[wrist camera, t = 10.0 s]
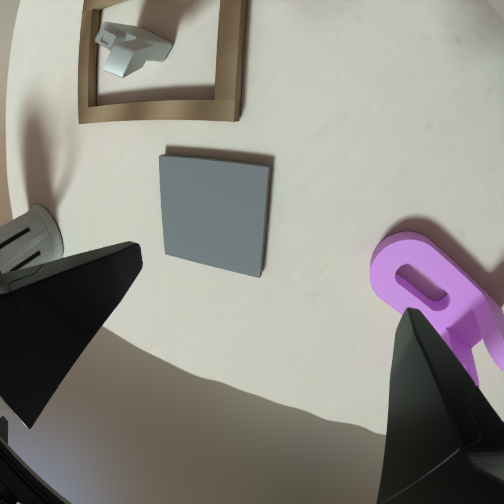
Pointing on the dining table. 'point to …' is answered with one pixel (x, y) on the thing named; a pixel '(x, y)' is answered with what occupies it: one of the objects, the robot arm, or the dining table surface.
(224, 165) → the mat
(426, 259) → the bracket
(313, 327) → the dining table surface
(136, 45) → the lighter
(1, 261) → the glass holder
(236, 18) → the frame
